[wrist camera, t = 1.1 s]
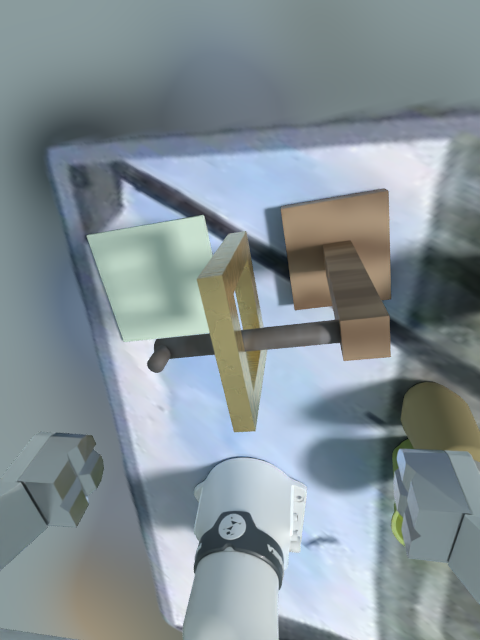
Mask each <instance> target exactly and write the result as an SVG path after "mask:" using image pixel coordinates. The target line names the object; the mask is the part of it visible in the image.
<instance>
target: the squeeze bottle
mask: <svg viewBox="0 0 480 640" xmlns="http://www.w3.org/2000/svg"><path fill="white" fill-rule="evenodd" d="M401 422H402V426H403V429H404V431H405V433H406V434H407V436H408V438H409V440H410V442H411V444H412V446H413V448H414V449H427V450H443V451H445V450H446V451H468V452H469V453H470V454H471V455H472V458H473V460H474V462H475V464H476V466H477V468H478V470H479V472H480V431H479V429H478V427H477V424H476V422H475V420H474V418H473V415H472V413H471V411H470V409H469V406H468V404H467V403H466V402H465V401H464V400H463V399H462V398H461V397H460V396H458V395H457V394H455V393H454V392H452V391H451V390H449V389H448V388H446V387H444V386H443V385H440V384H438V383H435V382H424V383H420V384H416V385H415V386H413V387H412V388H410V389H409V390H408V391H407V393H406V394H405V395H404V400H403V406H402V413H401Z"/></svg>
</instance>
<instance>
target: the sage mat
mask: <svg viewBox="0 0 480 640" xmlns="http://www.w3.org/2000/svg"><path fill="white" fill-rule="evenodd" d="M87 239H88V242H89V244H90V247H91V250H92V253H93V256H94V259H95V261H96V264H97V267H98V270H99V273H100V276H101V278H102V281H103V284H104V287H105V290H106V292H107V295H108V298H109V301H110V304H111V307H112V309H113V312H114V315H115V318H116V321H117V324H118V326H119V329H120V332H121V335H122V338H123V341H124V342H130V341H139V340H149V339H158V338H167V337H177V336H186V335H196V334H205V333H210V332H209V328H208V324H207V320H206V316H205V312H204V308H203V304H202V300H201V295H200V291H199V287H198V283H197V278H198V276H199V275H200V273H201V272H202V271H203V269H204V268H205V266H206V265H207V264H208V262H209V261H210V259H211V258H212V257H213V254H212V249H211V245H210V240H209V236H208V231H207V227H206V222H205V217H204V215H200V216H194V217H188V218H182V219H177V220H171V221H165V222H159V223H153V224H148V225H142V226H136V227H130V228H124V229H119V230H113V231H107V232H101V233H96V234H90V235H87Z"/></svg>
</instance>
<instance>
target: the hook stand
mask: <svg viewBox="0 0 480 640" xmlns="http://www.w3.org/2000/svg"><path fill="white" fill-rule="evenodd" d="M281 215H282V222H283V229H284V236H285V243H286V251H287V258H288V265H289V272H290V280H291V287H292V294H293V301H294V308H295V310H301V309H310V308H319V307H327V306H333V311H334V316H335V320H331V321H321V322H312V323H302V324H293V325H284V326H274V327H265V328H256V329H246V330H241V334H242V338H243V343H244V348H245V352H247V351H258V350H268V349H279V348H289V347H300V346H311V345H321V344H332V343H340V345H341V350H342V355H343V360H344V361H349V360H361V359H373V358H384V357H391V354H390V317H389V314H388V312H387V310H386V308H385V306H384V304H383V302H382V300H389V299H391V274H390V234H389V193H388V190H386V189H378V190H373V191H367V192H361V193H355V194H349V195H343V196H337V197H331V198H326V199H320V200H314V201H308V202H302V203H296V204H290V205H285V206H281ZM205 355H215V352H214V348H213V344H212V340H211V336H210V333H209V334H199V335H190V336H180V337H171V338H162V339H156V341H155V344H154V353H153V354H152V356H151V357H150V359H149V360H148V362H147V366H148V368H149V369H150V370H151V371H152V372H155V373H159V372H161V371H162V370H163V369H164V367H165V365H166V364H167V362H168V360H169V359H173V358H183V357H194V356H205Z"/></svg>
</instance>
